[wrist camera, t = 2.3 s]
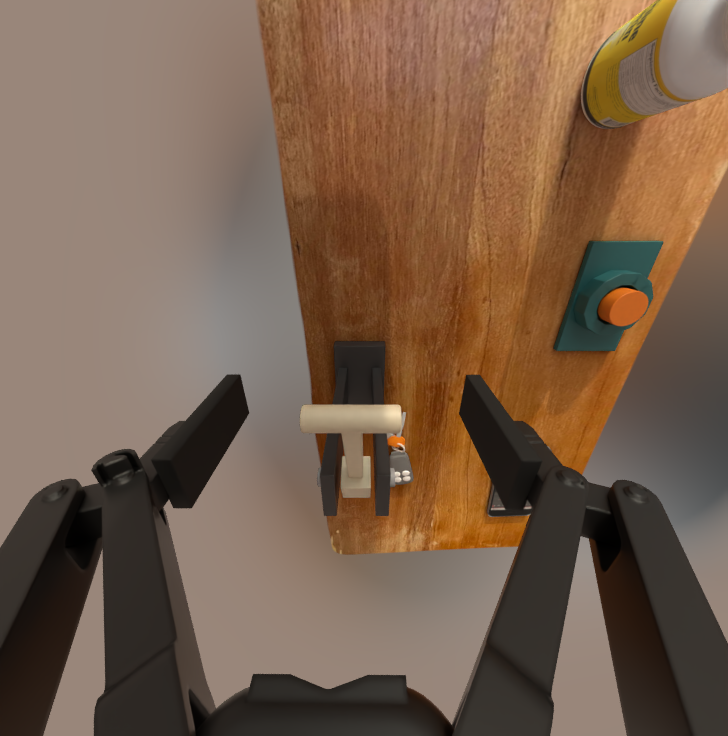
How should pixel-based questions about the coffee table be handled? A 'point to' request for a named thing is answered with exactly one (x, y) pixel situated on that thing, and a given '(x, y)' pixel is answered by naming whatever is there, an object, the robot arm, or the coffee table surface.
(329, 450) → the lever switch stand
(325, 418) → the switch lever
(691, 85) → the pill bottle
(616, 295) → the button
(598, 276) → the teal button base
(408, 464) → the key chain
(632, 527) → the robot arm
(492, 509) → the smartphone
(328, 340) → the coffee table surface
